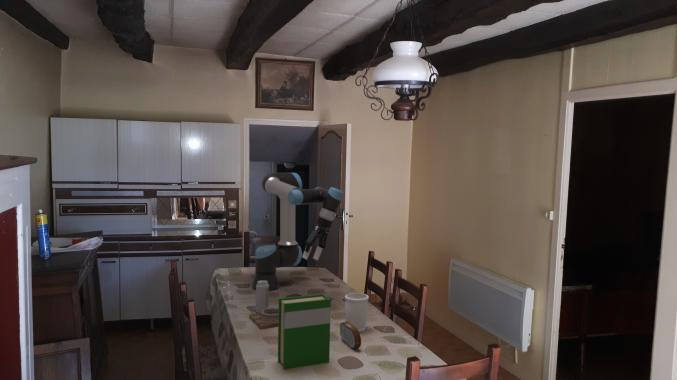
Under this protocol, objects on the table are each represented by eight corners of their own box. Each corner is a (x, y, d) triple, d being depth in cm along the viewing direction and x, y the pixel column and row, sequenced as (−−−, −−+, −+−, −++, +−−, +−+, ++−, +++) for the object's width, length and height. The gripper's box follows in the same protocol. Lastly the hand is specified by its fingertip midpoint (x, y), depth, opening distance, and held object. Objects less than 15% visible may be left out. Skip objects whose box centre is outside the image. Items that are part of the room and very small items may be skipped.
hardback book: (283, 369, 179) (284, 304, 177) (277, 361, 186) (278, 298, 184) (329, 362, 186) (330, 299, 184) (321, 354, 193) (323, 293, 191)
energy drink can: (257, 310, 244) (257, 279, 242) (269, 310, 243) (269, 280, 242) (254, 314, 238) (255, 283, 236) (267, 314, 237) (267, 283, 236)
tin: (361, 351, 198) (362, 330, 197) (354, 352, 196) (354, 331, 196) (345, 337, 211) (345, 318, 210) (338, 338, 210) (338, 319, 209)
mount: (249, 317, 232) (249, 308, 232) (281, 313, 240) (281, 304, 239) (260, 329, 218) (260, 319, 218) (294, 324, 226) (294, 314, 225)
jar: (355, 323, 229) (356, 291, 227) (372, 329, 221) (373, 296, 220) (339, 329, 221) (339, 295, 220) (356, 335, 214) (357, 301, 212)
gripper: (323, 218, 233) (306, 261, 233) (341, 223, 256) (325, 262, 256) (309, 212, 236) (292, 255, 235) (328, 218, 259) (313, 257, 258)
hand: (310, 259), depth 245 cm, fingers open, 13 cm apart
